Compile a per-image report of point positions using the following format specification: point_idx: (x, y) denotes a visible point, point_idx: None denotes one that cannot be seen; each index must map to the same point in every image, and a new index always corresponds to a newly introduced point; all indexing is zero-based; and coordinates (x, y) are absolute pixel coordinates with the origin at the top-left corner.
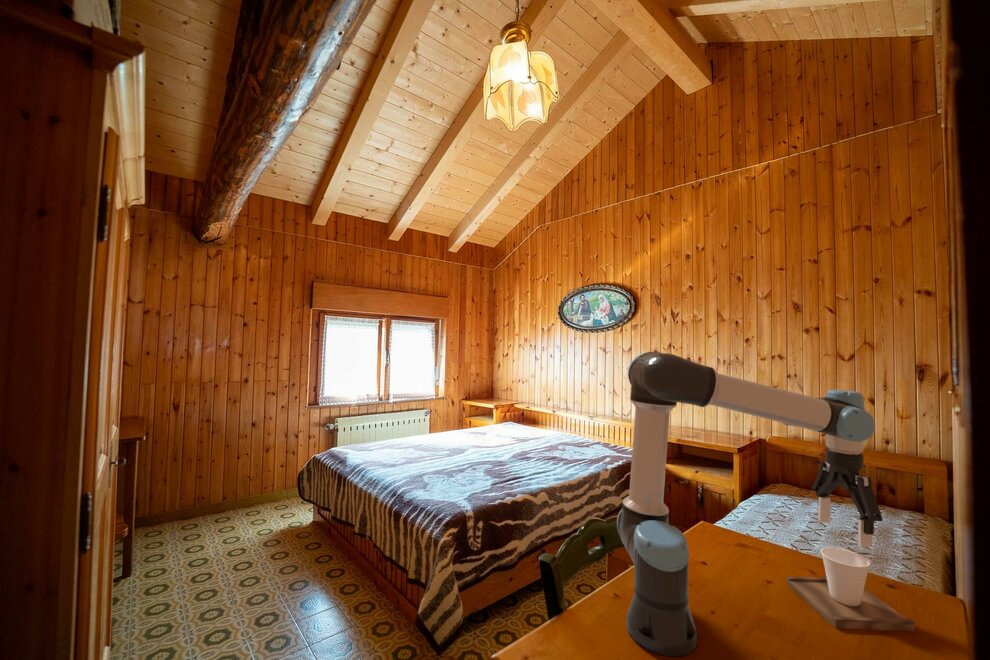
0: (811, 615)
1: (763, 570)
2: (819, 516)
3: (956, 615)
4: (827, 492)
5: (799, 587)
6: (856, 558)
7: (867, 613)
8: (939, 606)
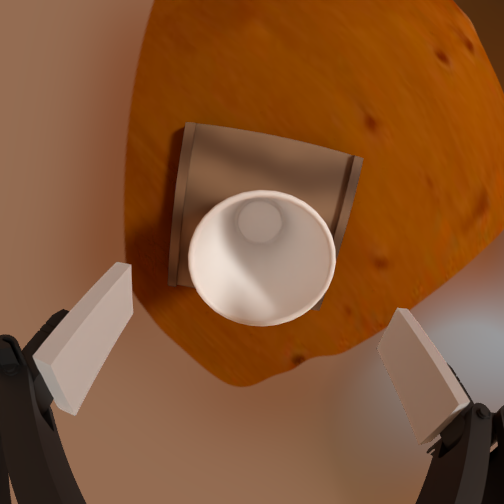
0: (237, 107)
1: (410, 155)
2: (413, 324)
3: (212, 374)
4: (442, 465)
5: (323, 154)
6: (273, 312)
7: None
8: (235, 374)
